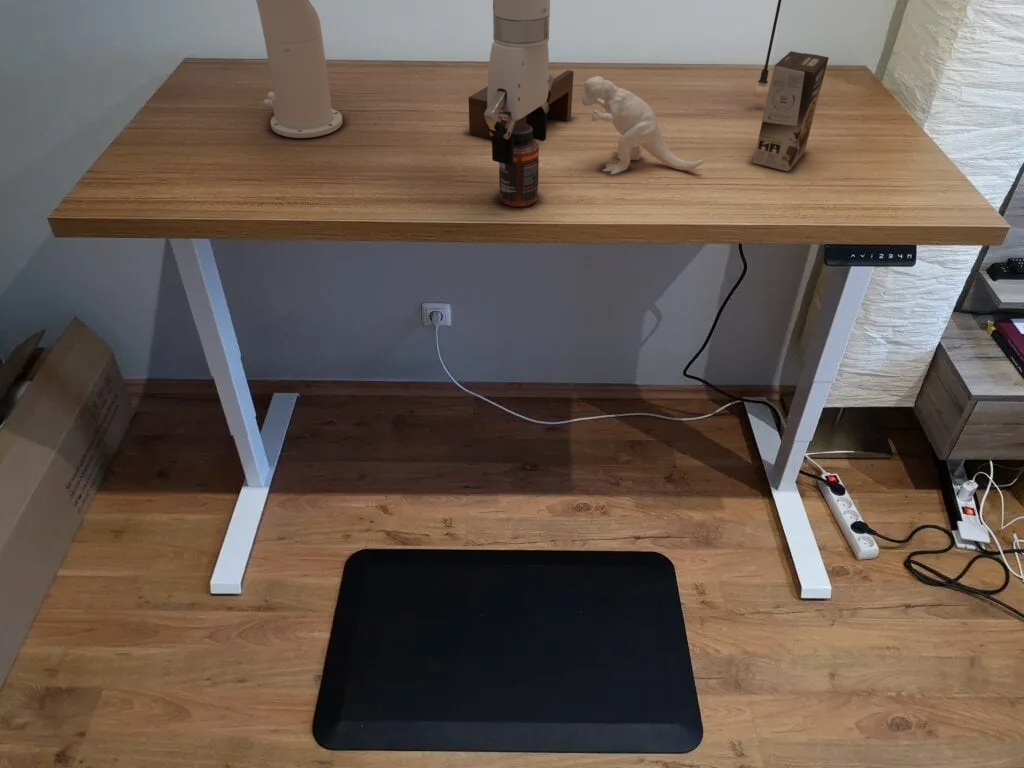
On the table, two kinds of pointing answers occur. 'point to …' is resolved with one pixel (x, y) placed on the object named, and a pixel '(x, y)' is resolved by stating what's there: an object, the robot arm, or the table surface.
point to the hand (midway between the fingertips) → (519, 150)
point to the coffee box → (790, 110)
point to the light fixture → (762, 88)
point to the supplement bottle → (520, 169)
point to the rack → (557, 109)
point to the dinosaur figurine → (630, 125)
